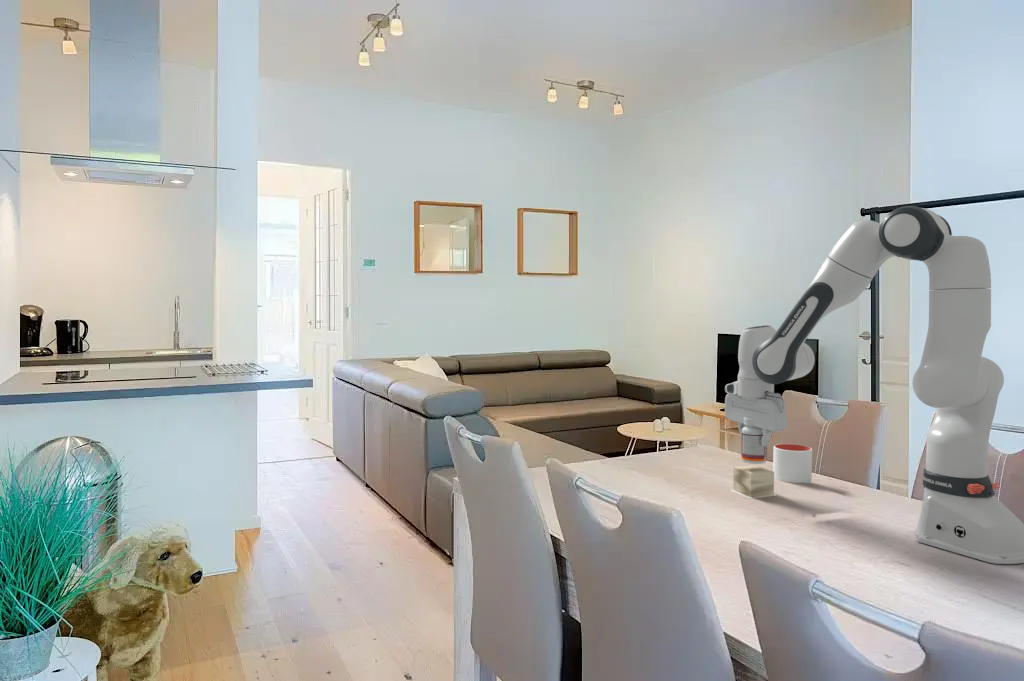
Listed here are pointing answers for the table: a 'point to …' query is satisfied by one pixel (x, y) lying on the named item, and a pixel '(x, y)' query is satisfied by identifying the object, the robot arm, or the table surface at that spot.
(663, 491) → the table surface
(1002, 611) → the table surface
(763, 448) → the pill bottle
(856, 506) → the table surface
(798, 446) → the cup
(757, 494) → the maple block
